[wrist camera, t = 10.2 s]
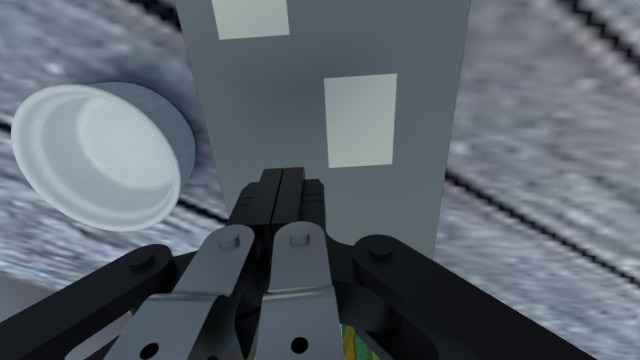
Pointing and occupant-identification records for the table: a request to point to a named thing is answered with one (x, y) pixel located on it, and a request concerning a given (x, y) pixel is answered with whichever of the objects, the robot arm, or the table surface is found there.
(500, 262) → the table surface
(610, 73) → the table surface
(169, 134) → the ramekin
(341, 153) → the label placard
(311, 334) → the robot arm
